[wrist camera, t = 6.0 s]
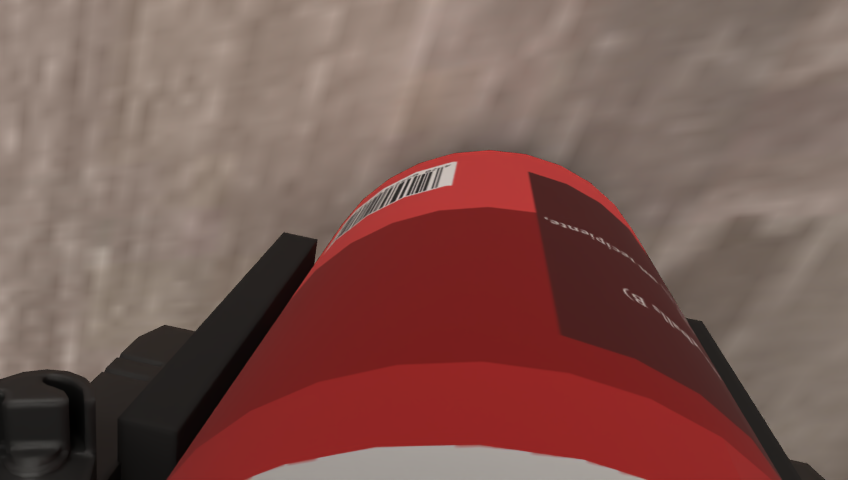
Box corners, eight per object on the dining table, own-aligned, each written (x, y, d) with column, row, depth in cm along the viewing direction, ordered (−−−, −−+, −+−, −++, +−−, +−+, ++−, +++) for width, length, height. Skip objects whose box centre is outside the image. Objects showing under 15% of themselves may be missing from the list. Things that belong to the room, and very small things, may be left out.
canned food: (292, 374, 17) (-12, 943, 7) (380, 89, 14) (74, 339, 4) (559, 468, 17) (652, 1159, 7) (701, 206, 14) (1227, 742, 4)
